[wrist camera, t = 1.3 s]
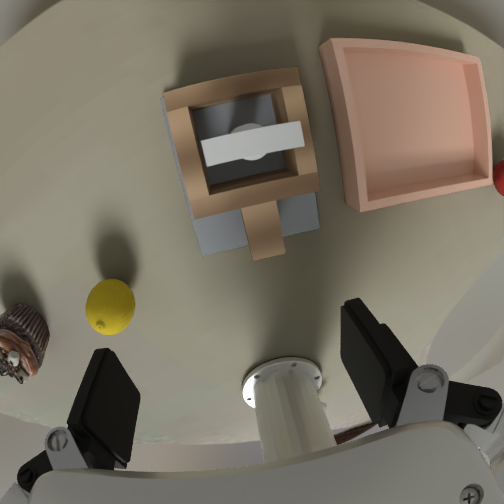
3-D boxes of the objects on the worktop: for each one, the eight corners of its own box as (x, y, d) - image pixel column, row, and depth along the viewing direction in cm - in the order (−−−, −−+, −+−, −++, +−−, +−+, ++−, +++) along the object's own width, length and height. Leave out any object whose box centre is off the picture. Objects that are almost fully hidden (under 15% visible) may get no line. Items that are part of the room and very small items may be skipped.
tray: (461, 59, 25) (479, 57, 21) (474, 178, 32) (492, 184, 29) (317, 47, 24) (330, 37, 21) (345, 203, 32) (360, 212, 28)
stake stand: (162, 99, 25) (126, 78, 14) (289, 73, 25) (335, 40, 14) (202, 252, 32) (197, 319, 21) (316, 225, 32) (366, 276, 21)
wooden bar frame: (171, 99, 24) (162, 93, 19) (283, 76, 24) (297, 66, 20) (210, 250, 31) (210, 271, 26) (310, 226, 31) (327, 243, 26)
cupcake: (41, 299, 32) (7, 343, 23) (62, 351, 36) (40, 398, 26) (-1, 297, 31) (-34, 335, 22) (21, 346, 34) (-4, 386, 25)
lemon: (117, 258, 31) (94, 294, 24) (150, 291, 33) (136, 332, 26) (91, 284, 32) (67, 322, 24) (122, 314, 34) (105, 356, 27)
